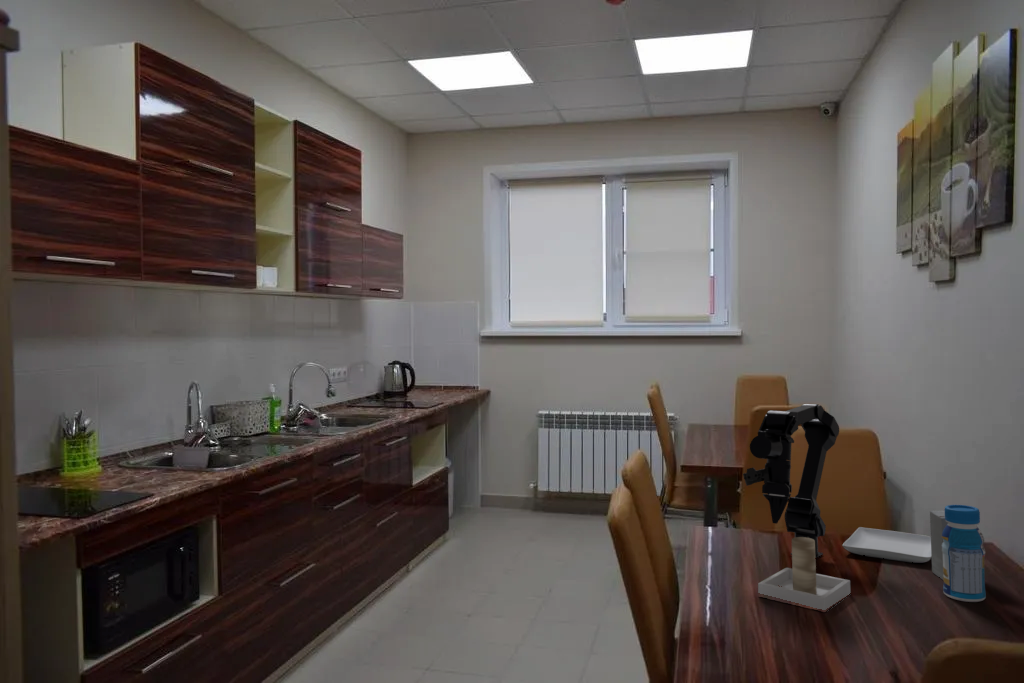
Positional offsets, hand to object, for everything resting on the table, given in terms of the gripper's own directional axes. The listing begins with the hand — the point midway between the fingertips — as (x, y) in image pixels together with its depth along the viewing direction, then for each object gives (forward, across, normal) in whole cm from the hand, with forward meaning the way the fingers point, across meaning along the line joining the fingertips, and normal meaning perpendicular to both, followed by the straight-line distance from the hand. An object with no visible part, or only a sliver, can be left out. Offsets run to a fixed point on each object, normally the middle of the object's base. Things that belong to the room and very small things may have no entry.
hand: (776, 521), depth 186 cm
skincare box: (+9, -10, +41) cm, 43 cm away
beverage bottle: (+11, +4, +41) cm, 42 cm away
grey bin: (+14, +14, +8) cm, 22 cm away
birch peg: (+14, +15, +8) cm, 21 cm away
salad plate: (+7, -28, +29) cm, 41 cm away
